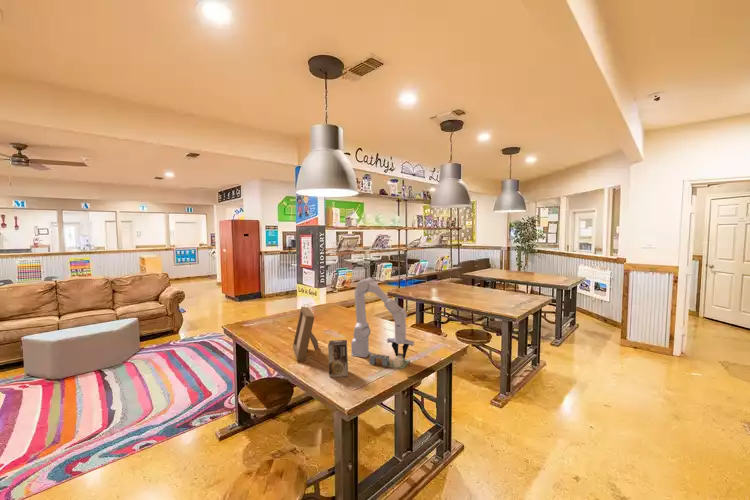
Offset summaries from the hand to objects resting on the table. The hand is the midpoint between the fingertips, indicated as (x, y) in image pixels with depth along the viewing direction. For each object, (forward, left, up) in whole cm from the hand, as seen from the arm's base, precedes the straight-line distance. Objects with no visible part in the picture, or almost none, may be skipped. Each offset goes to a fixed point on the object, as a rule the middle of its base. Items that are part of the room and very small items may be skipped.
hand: (400, 356), depth 169 cm
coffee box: (-25, -24, -3) cm, 34 cm away
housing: (-10, -7, -3) cm, 12 cm away
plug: (0, -2, -2) cm, 3 cm away
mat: (0, -2, -3) cm, 3 cm away
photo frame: (-55, -7, -3) cm, 55 cm away
